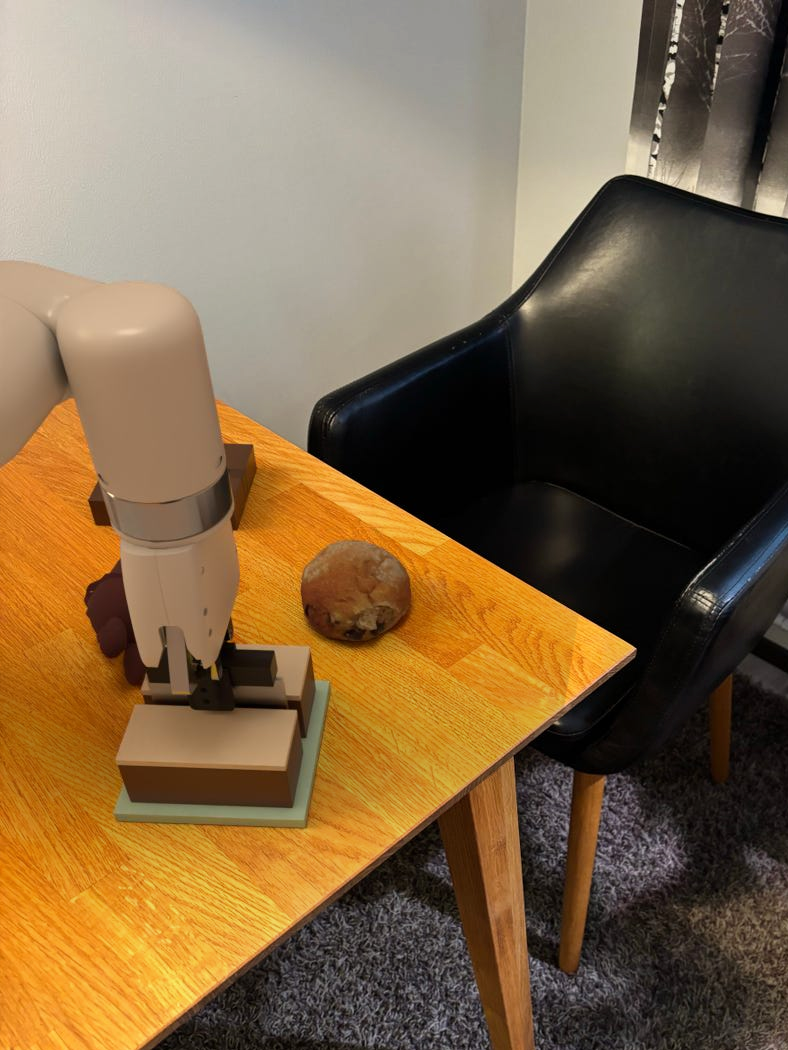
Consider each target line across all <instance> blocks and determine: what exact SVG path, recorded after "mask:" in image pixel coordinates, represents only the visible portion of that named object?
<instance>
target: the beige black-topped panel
mask: <svg viewBox="0 0 788 1050" xmlns="http://www.w3.org/2000/svg"><path fill="white" fill-rule="evenodd" d="M219 655H220V659H221V664H222V668H226V669H228V672H229V676H230V681H231V685H232V690H233V694H234V699H235V707H234V708H254V709H281V710H289V708H288V702H287V696H286V691H285V685H284V679H283V677H276V675H277V671H278V668H277V662H276V656H275V651H274V650H247V649H220V652H219ZM192 660H193V662H201V660H196V659H195V657H192ZM144 667H145V670H146V671H145V675H144V678H145V677H146V680H147V683H148V686H149V690H150V693H151V696H152V699H153V702H154V705H170V706H190V704H189V700H188V697H187V695H180V694H172V692H171V683H170V673H169V663H168V652H167V647H165V648H164V651H163V654H162V657H161V660H160V662H159V665H158V667H147V666H146V665H145V664H144Z"/></svg>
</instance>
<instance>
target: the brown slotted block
mask: <svg viewBox="0 0 788 1050" xmlns="http://www.w3.org/2000/svg"><path fill="white" fill-rule="evenodd" d="M223 445H224V450H225V455H226V462H227V467H228V472H229V478H230V483H231V488H232V494H233V498H234V511H233V514H232V516H231V518H230V521H231V525H232V529H233V531H237V530H238V527H239V525H240V521H241V519H242V516H243V515H242V514H243V512H244V509H245V506H246V502H247V499H248V496H249V493H250V491H251V488H252V484H253V481H254V477H255V475H256V472H257V469H258V468H257V461H256V454H255V448H254V444H252V443H229V442H223ZM87 502H88V506H89V509H90V512H91V515H92V519H93V522H94V525H96V526H112V525H111V521H110V518H109V515H108V512H107V508H106V505H105V501H104V498H103V495H102V491H101V488H100V485H99V481H98V480H97V482H96V484H95V485H94V488H93V490H92V492H91V493H90V496H89V498H88V499H87Z"/></svg>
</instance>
